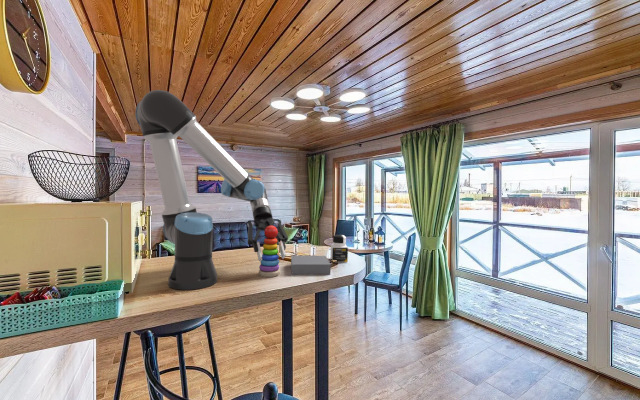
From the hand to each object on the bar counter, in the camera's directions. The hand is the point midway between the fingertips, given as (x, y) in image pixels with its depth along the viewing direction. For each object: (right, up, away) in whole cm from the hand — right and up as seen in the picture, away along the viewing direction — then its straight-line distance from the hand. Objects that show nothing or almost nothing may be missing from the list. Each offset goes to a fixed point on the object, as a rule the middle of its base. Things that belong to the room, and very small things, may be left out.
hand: (272, 257), depth 108 cm
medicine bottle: (+26, -7, +29) cm, 40 cm away
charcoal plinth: (+13, -7, +12) cm, 19 cm away
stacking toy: (-2, -7, +3) cm, 8 cm away
